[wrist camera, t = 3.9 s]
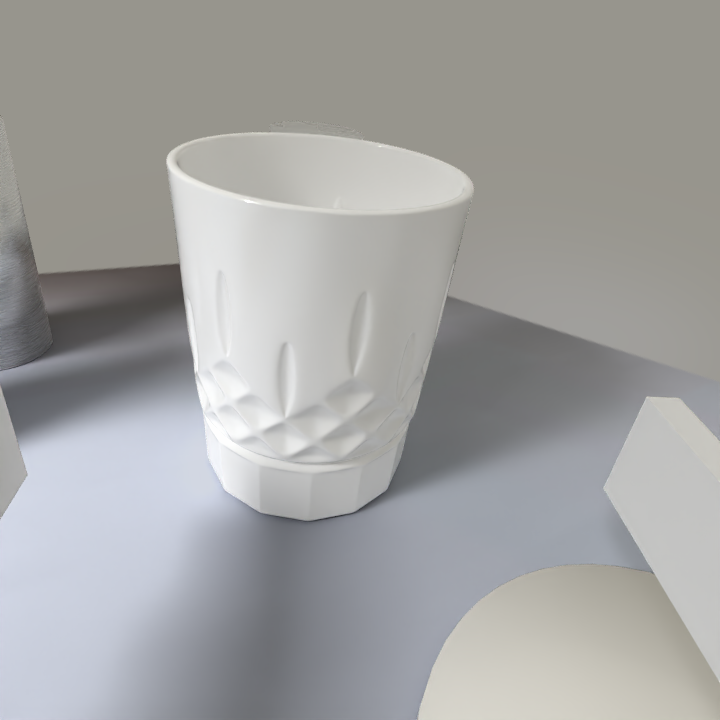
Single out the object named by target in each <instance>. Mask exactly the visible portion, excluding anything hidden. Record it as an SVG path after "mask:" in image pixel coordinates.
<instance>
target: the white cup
mask: <svg viewBox="0 0 720 720" xmlns="http://www.w3.org/2000/svg"><path fill="white" fill-rule="evenodd" d="M167 170H168V177H169V185H170V193H171V200H172V208H173V216H174V223H175V231H176V239H177V246H178V255H179V263H180V271H181V279H182V287H183V295H184V303H185V312H186V319H187V327H188V334H189V340H190V345H191V350H192V354H193V358H194V372H195V380H196V385H197V390H198V394H199V398H200V402H201V406H202V409H203V416H204V426H205V434H206V443H207V452H208V459H209V462H210V464H211V465H212V467H213V469H214V471H215V473H216V475H217V477H218V479H219V481H220V483H221V485H222V486H223V488H224V490H225V491H226V492H228V493H229V494H231V495H232V496H234V497H236V498H237V499H239V500H240V501H242V502H244V503H245V504H247V505H248V506H250V507H252V508H253V509H255V510H256V511H258V512H260V513H263V514H268V515H274V516H280V517H286V518H292V519H298V520H304V521H312V520H317V519H322V518H327V517H333V516H338V515H343V514H349V513H353V512H355V511H357V510H358V509H360V508H361V507H363V506H364V505H366V504H367V503H369V502H370V501H372V500H373V499H375V498H376V497H377V496H379V495H380V494H382V493H383V492H385V491H386V490H387V489H388V487H389V484H390V482H391V480H392V478H393V475H394V473H395V471H396V469H397V467H398V464H399V462H400V459H401V456H402V452H403V448H404V443H405V439H406V435H407V431H408V427H409V422H410V420H411V419H412V418H413V416H414V414H415V411H416V407H417V404H418V401H419V397H420V393H421V388H422V385H423V383H424V378H425V375H426V372H427V368H428V365H429V361H430V357H431V353H432V349H433V346H434V343H435V341H436V338H437V334H438V330H439V326H440V322H441V318H442V314H443V310H444V306H445V302H446V298H447V295H448V290H449V286H450V282H451V279H452V275H453V271H454V266H455V262H456V258H457V254H458V251H459V247H460V243H461V239H462V235H463V231H464V227H465V223H466V219H467V216H468V212H469V208H470V204H471V200H472V196H473V192H474V185H473V182H472V181H471V179H470V178H469V177H468V176H467V175H466V174H465V173H463V172H462V171H460V170H459V169H457V168H456V167H454V166H452V165H450V164H448V163H446V162H443V161H441V160H438V159H436V158H433V157H431V156H428V155H425V154H422V153H418V152H415V151H412V150H408V149H404V148H400V147H396V146H391V145H387V144H382V143H377V142H371V141H365V140H359V139H353V138H345V137H337V136H328V135H318V134H305V133H283V132H254V133H235V134H225V135H217V136H211V137H205V138H200V139H196V140H193V141H189V142H187V143H184V144H182V145H180V146H178V147H176V148H175V149H173V150H172V151H171V152H170V153H169V155H168V156H167Z"/></svg>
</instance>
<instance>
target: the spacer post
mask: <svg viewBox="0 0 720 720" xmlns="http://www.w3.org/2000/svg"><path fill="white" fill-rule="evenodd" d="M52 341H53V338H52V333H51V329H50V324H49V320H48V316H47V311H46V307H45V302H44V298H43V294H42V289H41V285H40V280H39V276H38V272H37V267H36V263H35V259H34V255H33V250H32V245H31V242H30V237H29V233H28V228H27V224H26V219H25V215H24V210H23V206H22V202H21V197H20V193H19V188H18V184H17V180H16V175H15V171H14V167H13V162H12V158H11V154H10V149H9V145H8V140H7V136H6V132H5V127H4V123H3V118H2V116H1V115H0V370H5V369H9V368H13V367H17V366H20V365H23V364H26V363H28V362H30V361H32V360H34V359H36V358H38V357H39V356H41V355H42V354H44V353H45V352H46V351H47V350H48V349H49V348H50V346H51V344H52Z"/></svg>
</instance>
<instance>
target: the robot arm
mask: <svg viewBox="0 0 720 720" xmlns="http://www.w3.org/2000/svg"><path fill="white" fill-rule="evenodd" d="M27 475H28V474H27V471H26V468H25V464H24V461H23V458H22V455H21V451H20V448H19V445H18V441H17V438H16V435H15V431H14V428H13V425H12V422H11V418H10V415H9V412H8V408H7V405H6V402H5V399H4V395H3V392H2V389H1V385H0V519H1V517H2V516H3V514H4V512H5V511H6V509H7V508H8V506H9V504H10V503H11V501H12V499H13V498H14V496H15V494H16V493H17V491H18V490H19V488H20V486H21V485H22V483H23V481H24V480H25V478H26V477H27ZM603 489H604V490H605V492H606V494H607V495H608V497H609V499H610V500H611V502H612V504H613V505H614V507H615V509H616V510H617V512H618V514H619V515H620V517H621V519H622V520H623V522H624V524H625V525H626V527H627V529H628V530H629V532H630V534H631V535H632V537H633V539H634V540H635V542H636V544H637V545H638V547H639V549H640V550H641V552H642V554H643V555H644V557H645V559H646V560H647V562H648V564H649V565H650V567H651V569H652V570H653V572H654V574H655V575H656V577H657V579H658V580H659V582H660V584H661V585H662V587H663V589H664V590H665V592H666V594H667V596H668V597H669V599H670V601H671V602H672V604H673V606H674V607H675V609H676V611H677V612H678V614H679V616H680V617H681V619H682V621H683V622H684V624H685V626H686V627H687V629H688V631H689V632H690V634H691V636H692V637H693V639H694V641H695V642H696V644H697V646H698V647H699V649H700V651H701V652H702V654H703V656H704V657H705V659H706V661H707V662H708V664H709V666H710V667H711V669H712V671H713V672H714V674H715V676H716V677H717V679H718V681H719V682H720V441H719V440H718V439H717V438H716V437H715V436H714V434H713V433H712V432H711V431H710V430H709V429H708V428H707V427H706V426H705V425H704V424H703V423H702V422H701V420H700V419H699V418H698V417H697V416H696V415H695V414H694V413H693V412H692V411H691V410H690V409H689V408H688V407H687V405H686V404H685V403H684V402H683V401H682V400H681V399H680V398H668V397H646V399H645V401H644V403H643V405H642V407H641V409H640V411H639V414H638V416H637V418H636V420H635V422H634V424H633V426H632V428H631V430H630V433H629V435H628V437H627V439H626V441H625V443H624V445H623V447H622V449H621V452H620V454H619V456H618V458H617V460H616V462H615V464H614V466H613V468H612V471H611V473H610V475H609V477H608V479H607V481H606V483H605V485H604V487H603Z"/></svg>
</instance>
